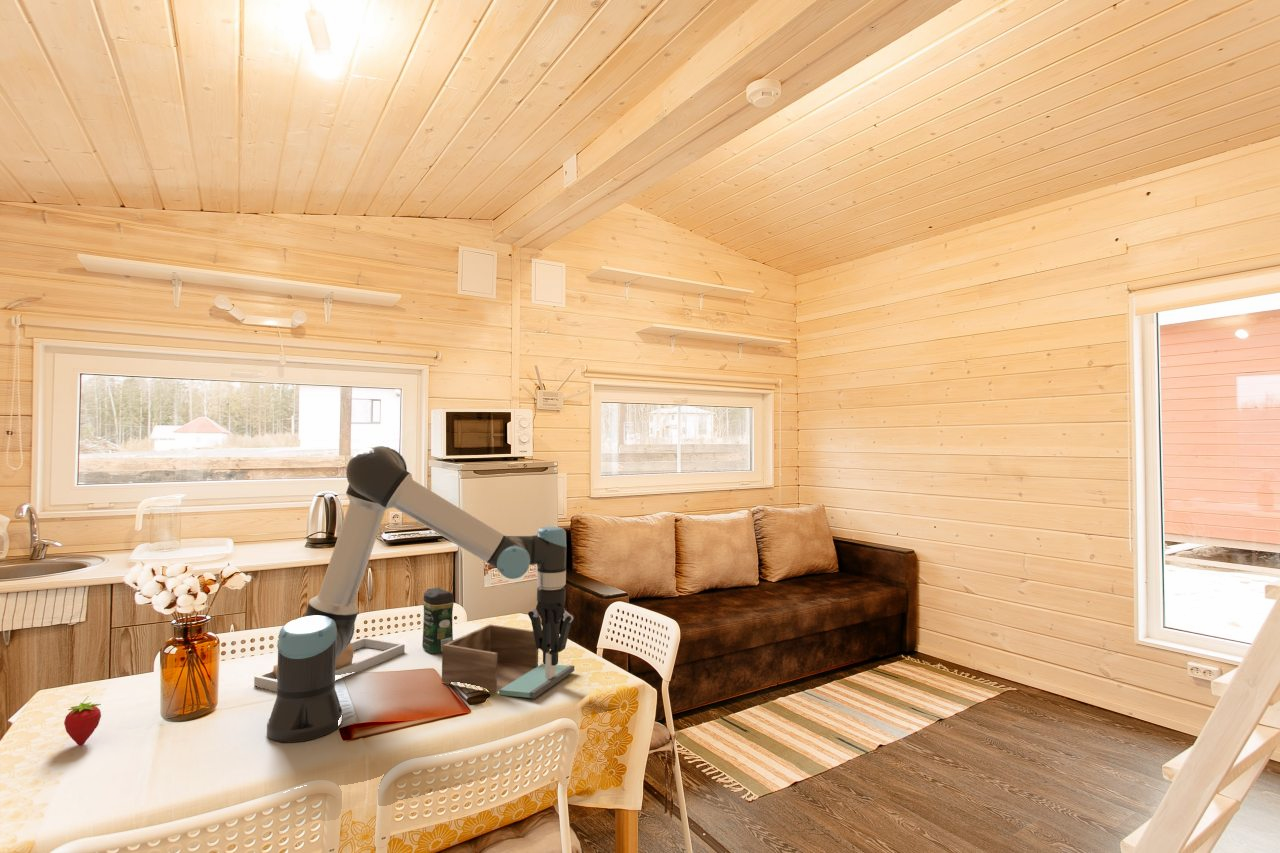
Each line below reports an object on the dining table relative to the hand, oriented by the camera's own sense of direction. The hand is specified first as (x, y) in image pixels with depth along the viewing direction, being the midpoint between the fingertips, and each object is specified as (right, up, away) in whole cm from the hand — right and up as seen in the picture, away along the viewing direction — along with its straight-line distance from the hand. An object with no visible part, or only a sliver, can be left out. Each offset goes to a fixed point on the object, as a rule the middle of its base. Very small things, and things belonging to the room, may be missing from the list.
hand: (550, 676), depth 170 cm
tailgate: (-8, -2, +3) cm, 9 cm away
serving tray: (-62, -3, +13) cm, 64 cm away
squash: (-65, -3, +7) cm, 66 cm away
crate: (-16, -3, +7) cm, 18 cm away
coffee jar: (-39, -3, +30) cm, 49 cm away
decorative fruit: (-94, -1, -34) cm, 100 cm away
